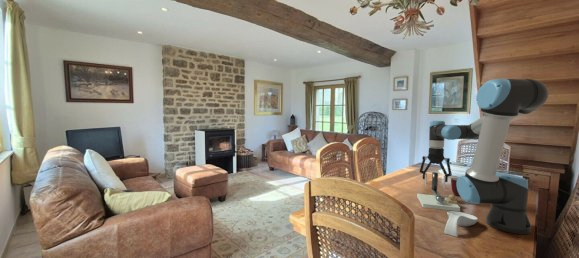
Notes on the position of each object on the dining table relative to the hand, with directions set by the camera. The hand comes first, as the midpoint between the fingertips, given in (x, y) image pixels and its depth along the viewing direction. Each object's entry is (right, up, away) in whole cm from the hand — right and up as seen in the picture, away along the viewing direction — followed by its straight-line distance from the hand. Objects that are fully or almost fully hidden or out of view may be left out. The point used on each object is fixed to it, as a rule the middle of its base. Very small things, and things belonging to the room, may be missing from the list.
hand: (434, 186), depth 146 cm
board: (-2, -8, -6) cm, 11 cm away
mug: (+20, -8, +8) cm, 23 cm away
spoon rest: (-10, -10, -35) cm, 38 cm away
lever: (-2, -4, -6) cm, 8 cm away
